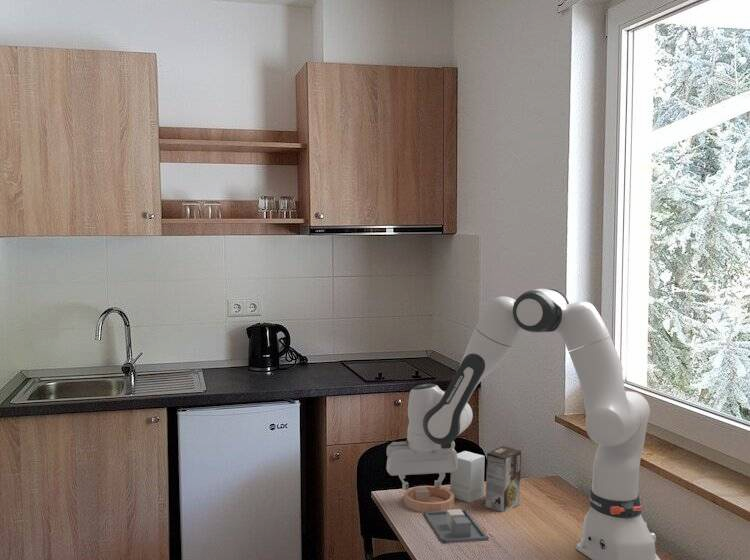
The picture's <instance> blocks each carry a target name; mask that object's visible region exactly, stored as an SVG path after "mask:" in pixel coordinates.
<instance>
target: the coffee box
mask: <svg viewBox="0 0 750 560" xmlns="http://www.w3.org/2000/svg"><path fill="white" fill-rule="evenodd" d="M521 466H522V450H520V449H515V448H513V447H509V446H504V445H502V446H500V447H497V448H496V449H495V448H494V450H491V451H489V452H487V453H486V477H485V478H486V482H485V508H488V509H489V508H490V509H493V510H496V511H499V512H503V513H505V512H507V511H508V510H511V509H514V508H516V507H517V506H519V505H520V502H521V501H520V500H521V499H520V496H521V473H522V471H521V469H522V468H521ZM515 506H516V507H515ZM513 507H514V508H513Z"/></svg>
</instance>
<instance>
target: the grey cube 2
mask: <svg viewBox="0 0 750 560" xmlns="http://www.w3.org/2000/svg"><path fill="white" fill-rule="evenodd" d="M452 533H453V535H454V536H455V538H467V537H471V522H470V521H469V519H468V518H467V517H463V518H453V525H452Z"/></svg>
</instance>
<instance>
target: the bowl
mask: <svg viewBox="0 0 750 560" xmlns="http://www.w3.org/2000/svg"><path fill="white" fill-rule="evenodd" d="M417 487H426V488H427V489H428V490H429V503H428V502H421V501H417V500H414V499H413V488H417ZM403 498H404V499H403V500H404V501H403V503H404V505H405V506H406V507H407V508H408V509H410V510H413V511H416V512H420V513H424V512H433V511H447V510H453V508H454V506H455V498H454V494H453V493H452V492H451V491H450V489H447V488H445V487H441V488H436V487H435V485H418V486H413V487H409V490H404V493H403Z"/></svg>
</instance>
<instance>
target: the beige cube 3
mask: <svg viewBox="0 0 750 560" xmlns="http://www.w3.org/2000/svg"><path fill="white" fill-rule="evenodd" d="M461 510H462V509H461V508H459V509H458V508H456V509H450V510H447V516H446V525H447V526H448V528H449V529H450V530H452V525H453V518H463V517H464V516H465V514H464V513H463V512H462V511H461Z"/></svg>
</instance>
